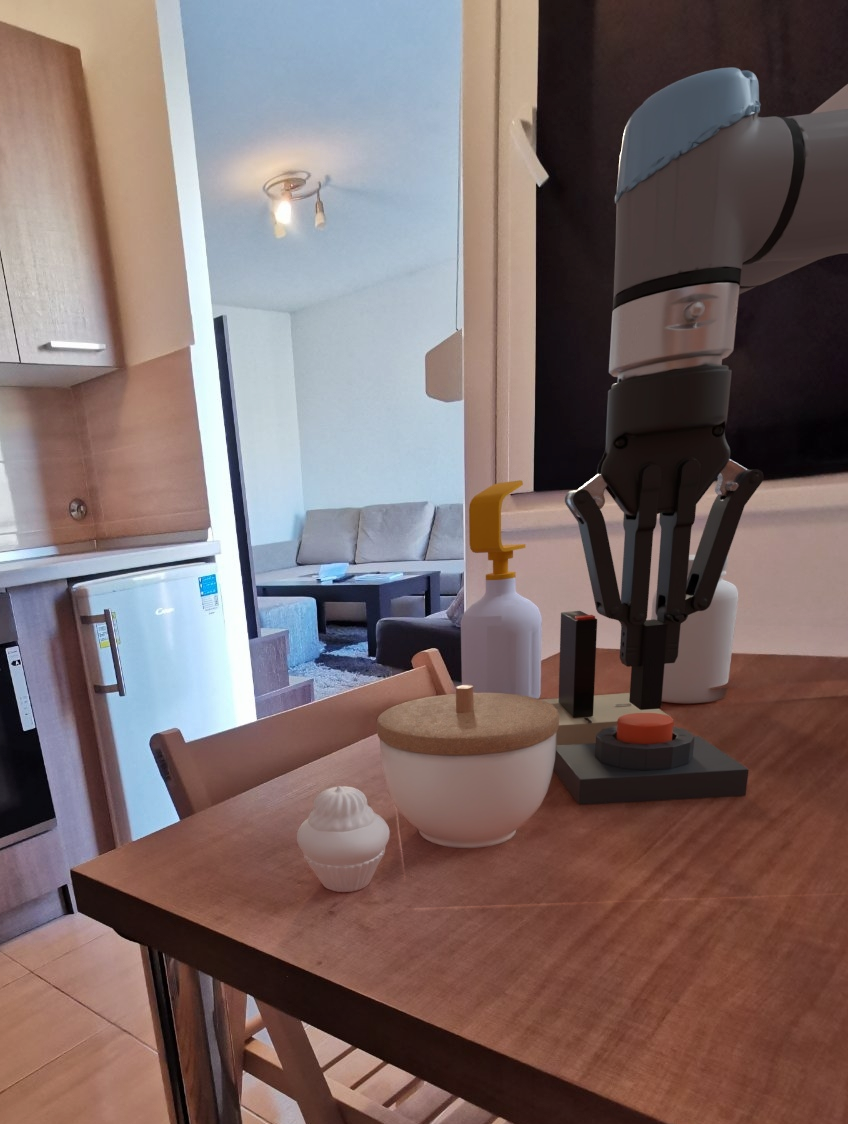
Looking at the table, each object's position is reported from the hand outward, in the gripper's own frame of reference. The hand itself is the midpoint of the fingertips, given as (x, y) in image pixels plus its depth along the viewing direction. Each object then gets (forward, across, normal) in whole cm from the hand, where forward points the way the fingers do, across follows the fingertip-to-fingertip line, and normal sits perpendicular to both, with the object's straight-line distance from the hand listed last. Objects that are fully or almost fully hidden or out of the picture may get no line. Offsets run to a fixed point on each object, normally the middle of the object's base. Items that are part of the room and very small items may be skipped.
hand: (644, 704), depth 61 cm
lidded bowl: (+7, -15, -8) cm, 18 cm away
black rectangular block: (+3, -2, +13) cm, 14 cm away
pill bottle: (+7, +13, +26) cm, 30 cm away
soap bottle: (+7, -6, +31) cm, 32 cm away
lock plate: (+7, -2, +13) cm, 15 cm away
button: (+3, 0, 0) cm, 3 cm away
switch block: (+7, 0, 0) cm, 7 cm away
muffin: (+7, -24, -16) cm, 30 cm away
